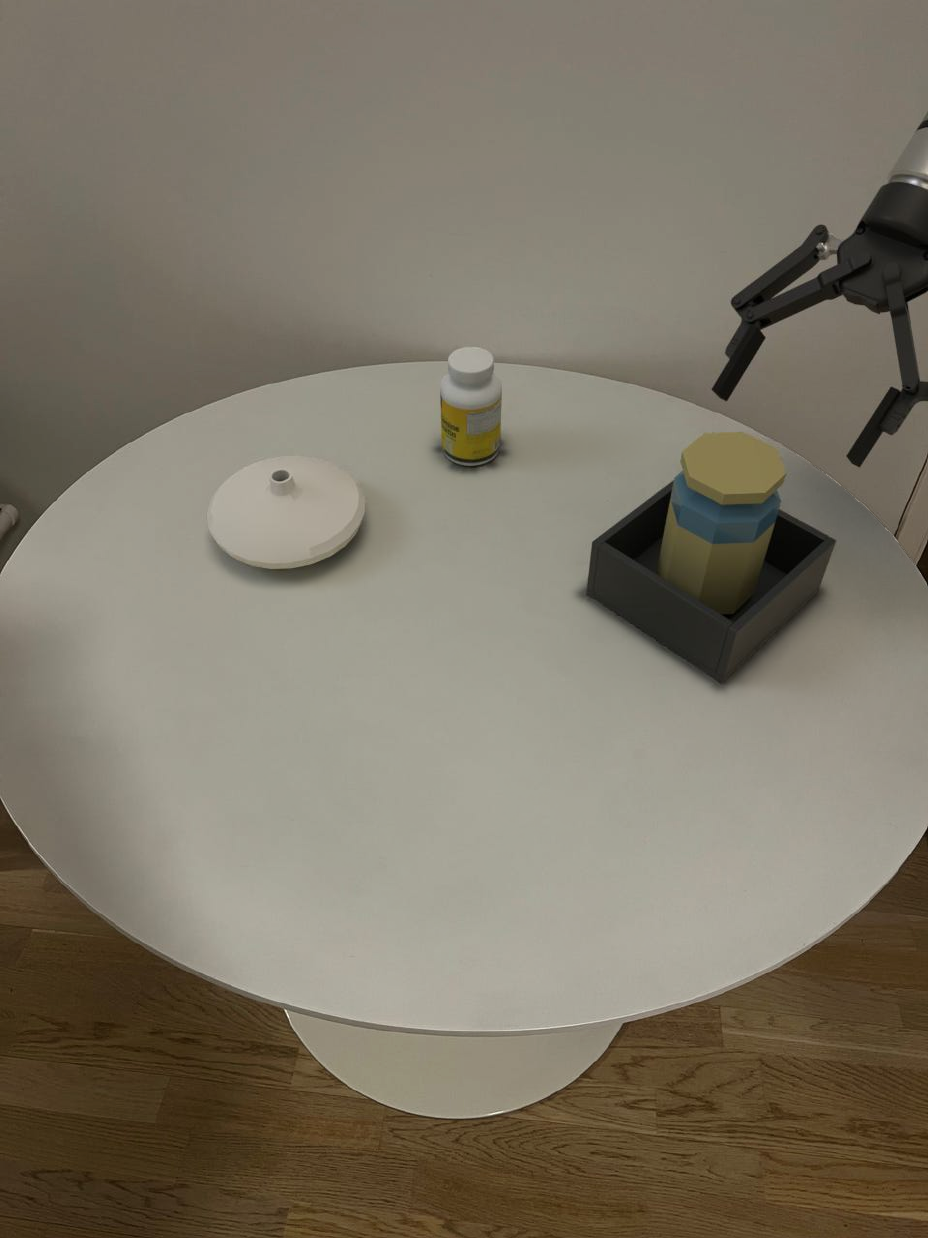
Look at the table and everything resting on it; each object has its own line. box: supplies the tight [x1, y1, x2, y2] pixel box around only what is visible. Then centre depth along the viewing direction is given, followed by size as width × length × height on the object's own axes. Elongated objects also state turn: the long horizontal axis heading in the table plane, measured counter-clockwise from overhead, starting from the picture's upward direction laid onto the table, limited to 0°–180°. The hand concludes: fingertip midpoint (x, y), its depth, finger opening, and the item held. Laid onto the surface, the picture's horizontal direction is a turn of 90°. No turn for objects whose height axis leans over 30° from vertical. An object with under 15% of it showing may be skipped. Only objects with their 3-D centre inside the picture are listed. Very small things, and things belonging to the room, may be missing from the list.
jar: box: [657, 431, 787, 614], centre depth 89 cm, size 9×9×15 cm
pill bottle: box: [439, 346, 503, 467], centre depth 106 cm, size 6×6×12 cm
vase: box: [205, 455, 366, 570], centre depth 100 cm, size 16×16×7 cm
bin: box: [585, 479, 837, 684], centre depth 93 cm, size 16×16×7 cm
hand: (783, 427), depth 88 cm, fingers open, 13 cm apart
